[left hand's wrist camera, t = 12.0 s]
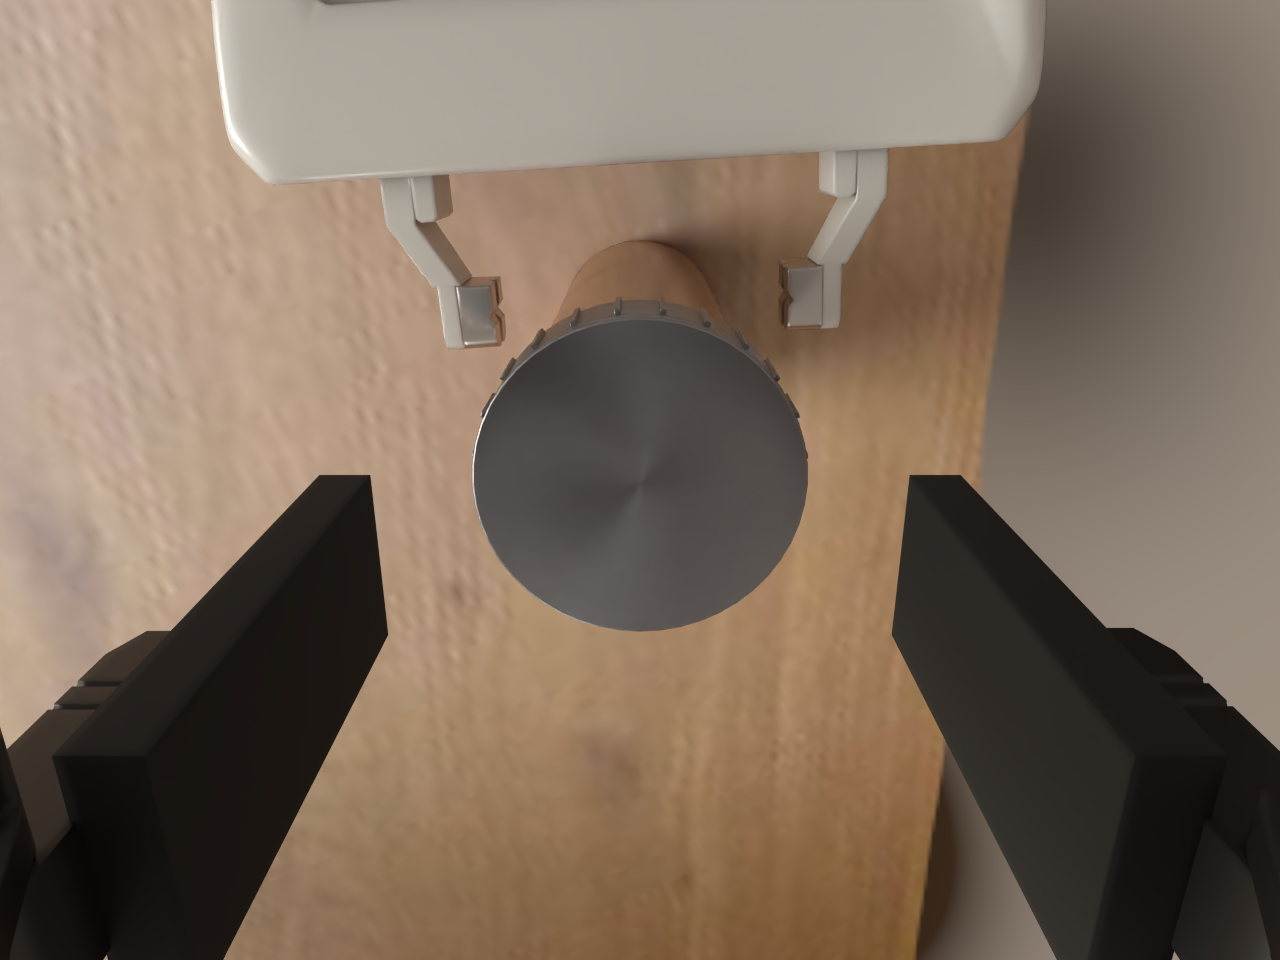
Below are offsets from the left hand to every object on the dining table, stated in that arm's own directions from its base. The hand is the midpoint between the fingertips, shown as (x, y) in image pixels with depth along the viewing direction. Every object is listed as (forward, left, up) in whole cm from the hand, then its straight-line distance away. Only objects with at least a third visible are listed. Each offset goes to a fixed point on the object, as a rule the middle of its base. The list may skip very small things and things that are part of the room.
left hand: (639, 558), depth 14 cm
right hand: (+1, 0, -13) cm, 13 cm away
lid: (0, 0, -3) cm, 3 cm away
